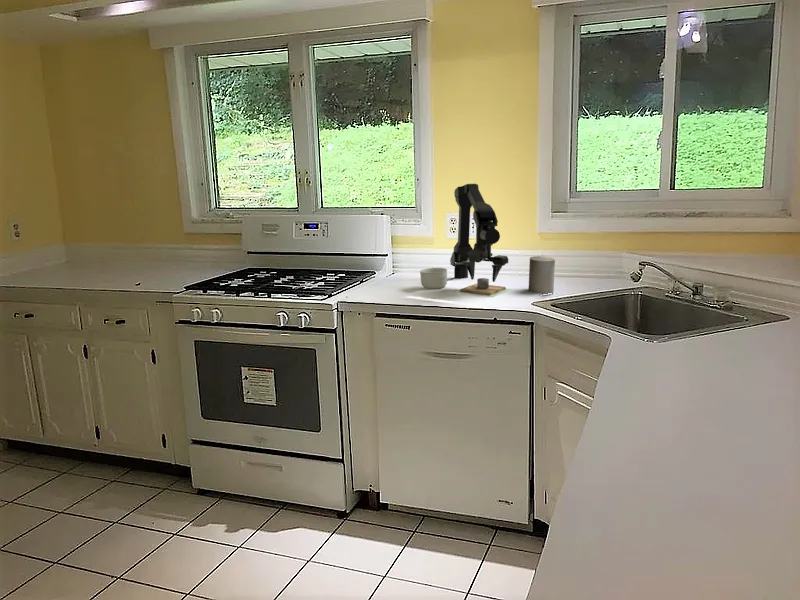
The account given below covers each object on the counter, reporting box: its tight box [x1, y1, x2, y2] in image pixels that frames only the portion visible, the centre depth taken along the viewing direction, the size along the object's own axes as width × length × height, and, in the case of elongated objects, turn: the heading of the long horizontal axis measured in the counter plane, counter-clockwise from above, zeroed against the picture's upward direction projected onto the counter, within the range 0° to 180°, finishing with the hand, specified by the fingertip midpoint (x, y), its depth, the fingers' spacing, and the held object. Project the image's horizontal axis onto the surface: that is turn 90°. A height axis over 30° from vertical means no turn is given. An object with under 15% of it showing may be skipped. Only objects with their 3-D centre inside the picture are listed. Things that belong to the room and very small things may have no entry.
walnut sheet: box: [459, 277, 507, 295], centre depth 267 cm, size 13×13×4 cm
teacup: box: [419, 266, 448, 290], centre depth 277 cm, size 14×11×8 cm
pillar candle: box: [527, 254, 556, 294], centre depth 265 cm, size 10×10×15 cm
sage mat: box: [454, 287, 513, 298], centre depth 268 cm, size 17×17×1 cm
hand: (483, 280), depth 267 cm, fingers open, 9 cm apart
